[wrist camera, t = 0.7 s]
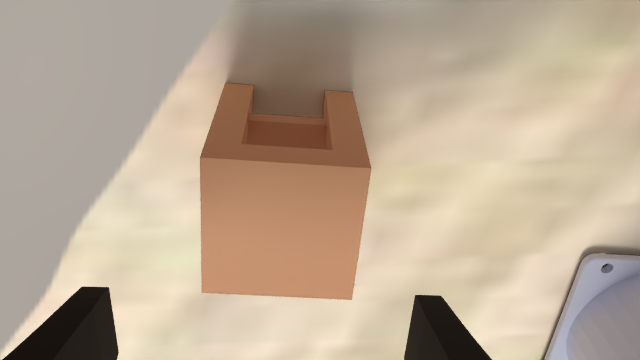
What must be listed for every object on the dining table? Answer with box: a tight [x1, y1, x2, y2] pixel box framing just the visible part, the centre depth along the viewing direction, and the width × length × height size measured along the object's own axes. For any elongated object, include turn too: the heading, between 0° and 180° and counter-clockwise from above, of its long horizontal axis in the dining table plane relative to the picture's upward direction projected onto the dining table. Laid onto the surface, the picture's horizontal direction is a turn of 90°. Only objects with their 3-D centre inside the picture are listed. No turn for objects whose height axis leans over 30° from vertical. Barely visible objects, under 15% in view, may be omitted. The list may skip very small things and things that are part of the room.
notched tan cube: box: [200, 83, 371, 300], centre depth 19 cm, size 5×5×6 cm
